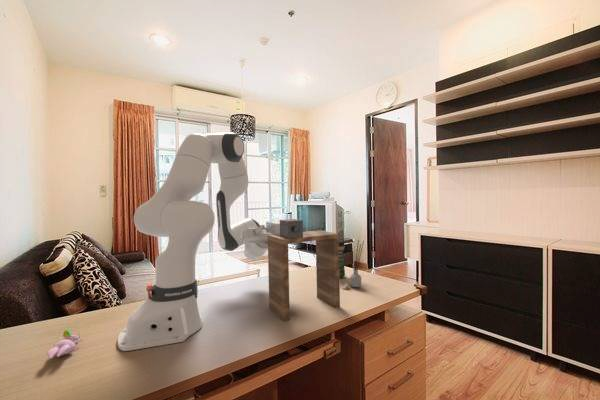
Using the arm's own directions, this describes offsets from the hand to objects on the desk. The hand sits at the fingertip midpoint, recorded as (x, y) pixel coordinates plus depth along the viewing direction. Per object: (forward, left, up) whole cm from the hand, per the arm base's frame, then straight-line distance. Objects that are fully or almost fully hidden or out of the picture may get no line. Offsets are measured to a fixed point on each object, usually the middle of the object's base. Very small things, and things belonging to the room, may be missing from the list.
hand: (273, 225), depth 108 cm
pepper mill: (0, -8, -2) cm, 8 cm away
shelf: (+6, -12, -28) cm, 31 cm away
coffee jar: (+37, +13, -29) cm, 49 cm away
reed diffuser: (+35, -5, -29) cm, 46 cm away
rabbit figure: (-62, -4, -29) cm, 68 cm away
